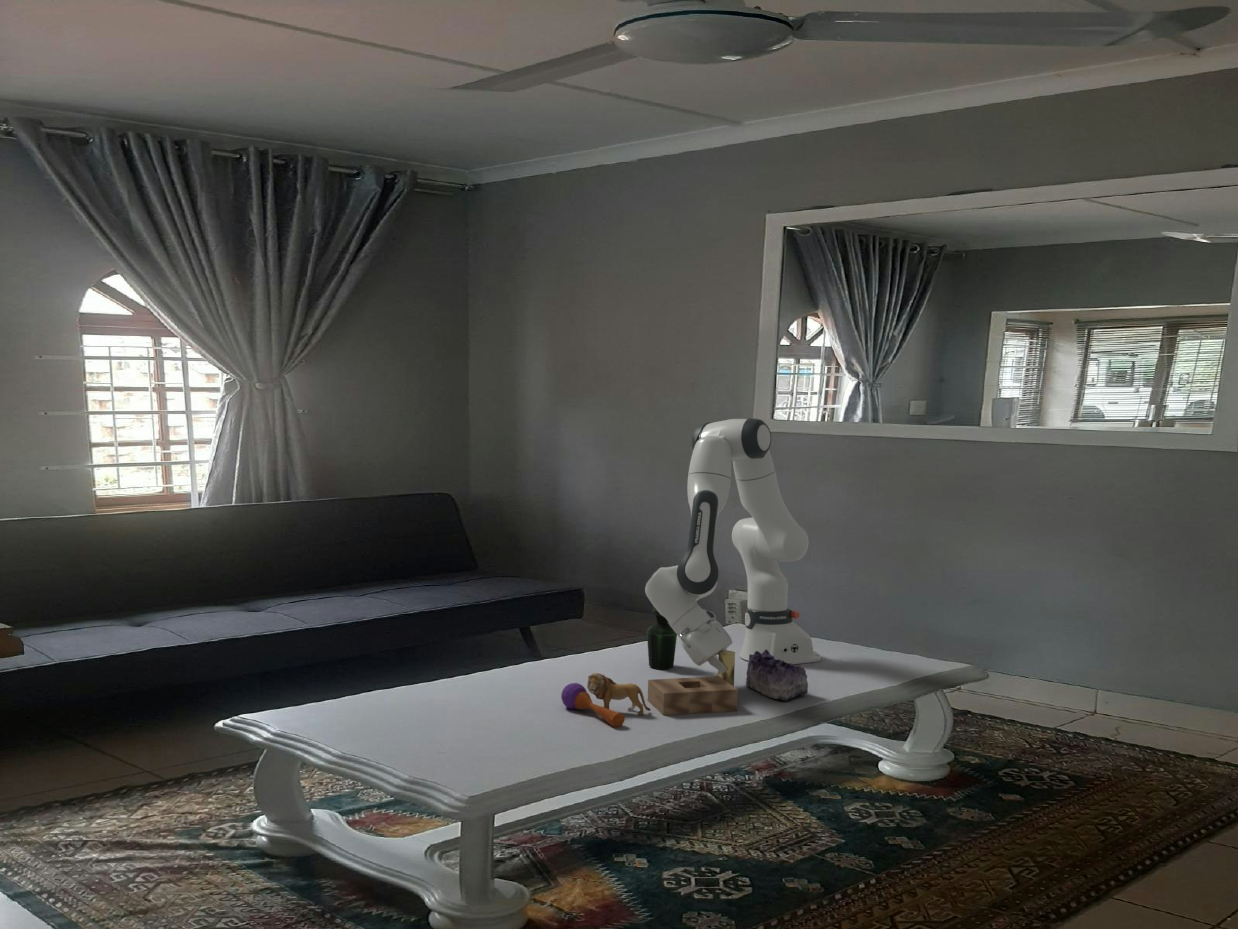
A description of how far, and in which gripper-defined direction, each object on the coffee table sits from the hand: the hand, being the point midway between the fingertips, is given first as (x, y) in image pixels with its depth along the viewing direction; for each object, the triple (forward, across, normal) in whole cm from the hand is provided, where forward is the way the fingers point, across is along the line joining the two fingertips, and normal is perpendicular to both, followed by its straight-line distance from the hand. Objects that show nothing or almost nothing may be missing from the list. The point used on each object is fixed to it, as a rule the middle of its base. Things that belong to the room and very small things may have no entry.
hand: (728, 669), depth 263 cm
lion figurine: (-8, -28, +17) cm, 34 cm away
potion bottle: (-13, +16, +21) cm, 29 cm away
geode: (+11, +7, -2) cm, 13 cm away
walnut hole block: (+1, -15, +7) cm, 16 cm away
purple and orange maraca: (-10, -33, +20) cm, 40 cm away
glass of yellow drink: (+4, 0, +5) cm, 6 cm away
